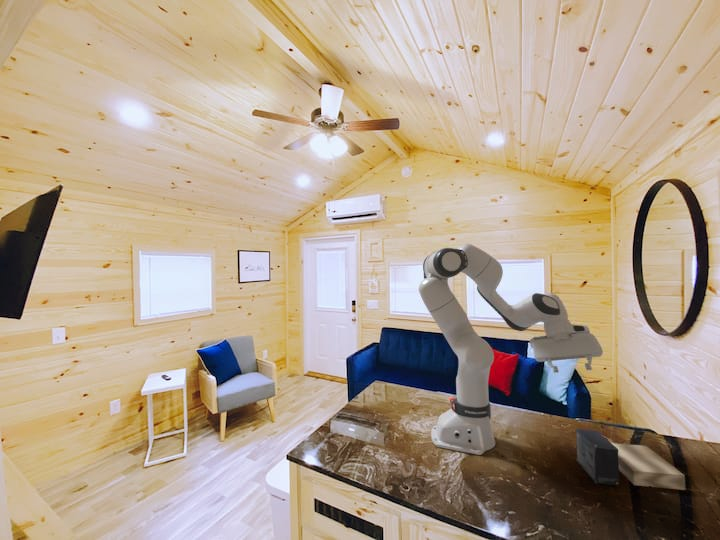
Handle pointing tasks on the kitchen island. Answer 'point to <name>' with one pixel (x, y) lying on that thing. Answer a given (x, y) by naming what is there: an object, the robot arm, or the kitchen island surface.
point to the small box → (597, 457)
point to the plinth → (648, 467)
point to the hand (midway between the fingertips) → (572, 370)
